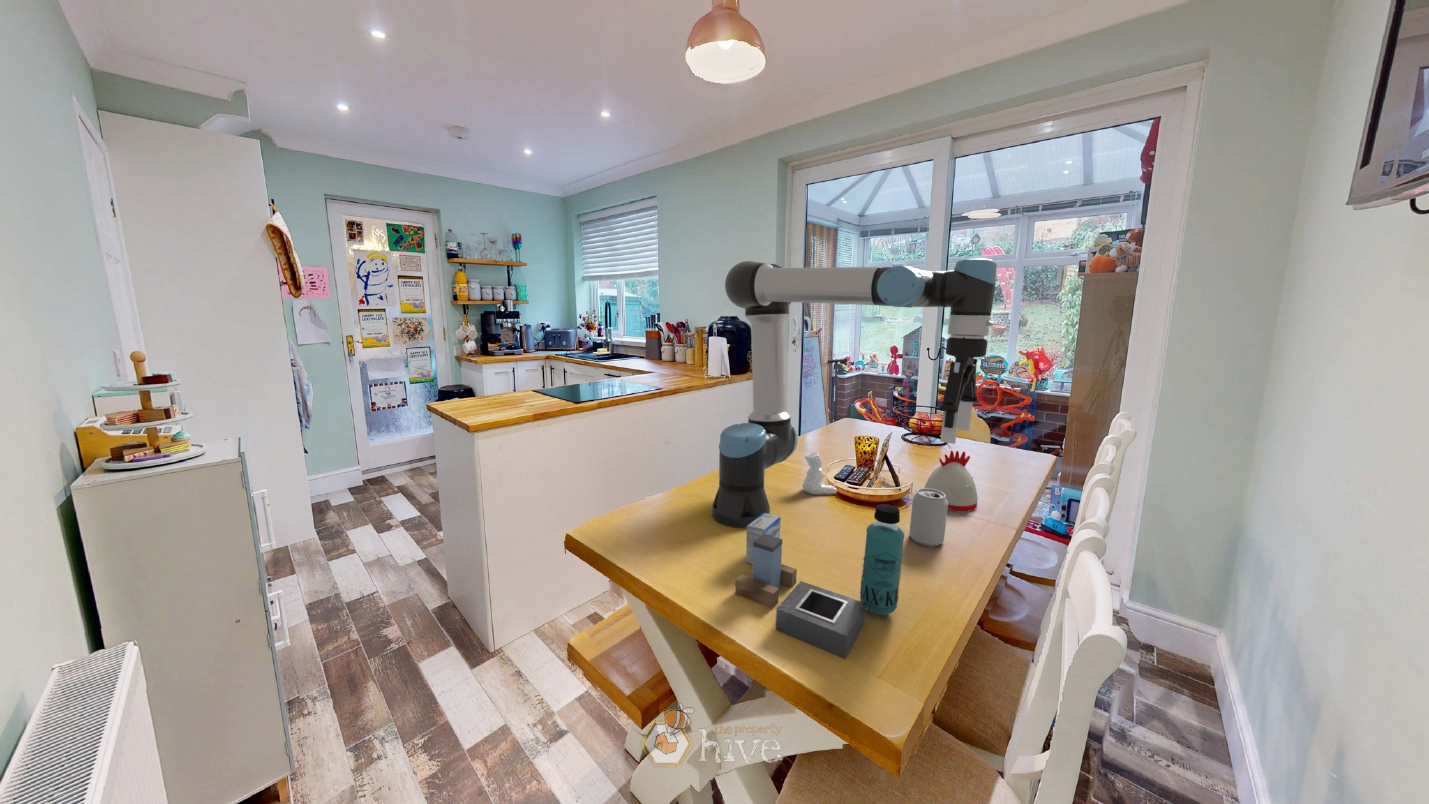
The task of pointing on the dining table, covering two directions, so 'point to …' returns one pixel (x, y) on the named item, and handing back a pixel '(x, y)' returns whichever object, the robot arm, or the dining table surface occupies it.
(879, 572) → the beverage bottle
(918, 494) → the can
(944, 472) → the red crested white hat
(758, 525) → the medicine box
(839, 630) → the port
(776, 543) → the plug
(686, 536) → the dining table surface
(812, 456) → the seated beast figurine
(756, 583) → the pair of wooden blocks
